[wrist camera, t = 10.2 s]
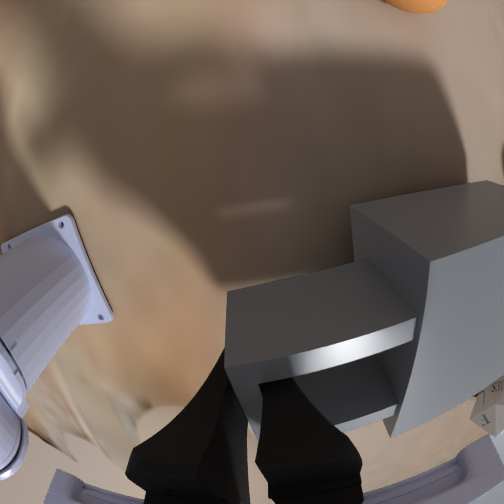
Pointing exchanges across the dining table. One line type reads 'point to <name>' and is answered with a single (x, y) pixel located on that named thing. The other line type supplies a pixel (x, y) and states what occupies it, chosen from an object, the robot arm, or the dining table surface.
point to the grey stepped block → (383, 315)
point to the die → (490, 408)
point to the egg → (417, 5)
